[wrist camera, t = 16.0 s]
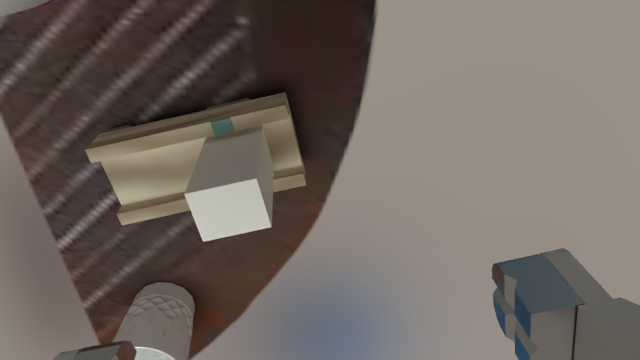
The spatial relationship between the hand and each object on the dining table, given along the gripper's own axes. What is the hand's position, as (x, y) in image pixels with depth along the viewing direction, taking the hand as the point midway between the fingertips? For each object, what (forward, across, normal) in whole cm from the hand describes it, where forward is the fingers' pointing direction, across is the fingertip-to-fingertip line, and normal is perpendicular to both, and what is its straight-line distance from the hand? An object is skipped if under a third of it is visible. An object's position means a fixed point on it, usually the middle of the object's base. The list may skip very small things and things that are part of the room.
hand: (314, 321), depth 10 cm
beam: (+34, +10, +8) cm, 36 cm away
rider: (+30, +6, +8) cm, 32 cm away
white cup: (+34, +21, +26) cm, 48 cm away
